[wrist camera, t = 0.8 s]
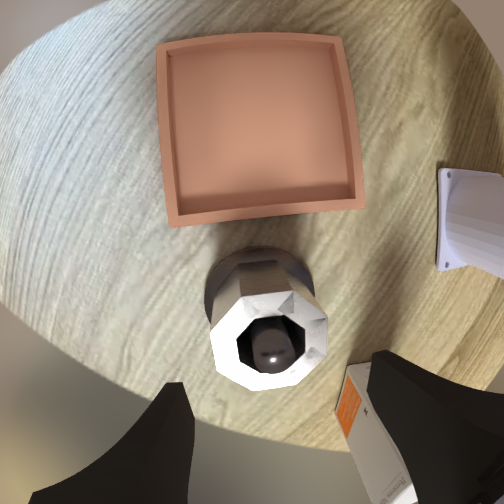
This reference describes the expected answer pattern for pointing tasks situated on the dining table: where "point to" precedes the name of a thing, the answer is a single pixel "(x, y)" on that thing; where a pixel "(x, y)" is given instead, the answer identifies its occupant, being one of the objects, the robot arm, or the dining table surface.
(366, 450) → the skincare box
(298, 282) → the octagonal pencil cup
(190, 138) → the tray
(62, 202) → the dining table surface
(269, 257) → the stand
